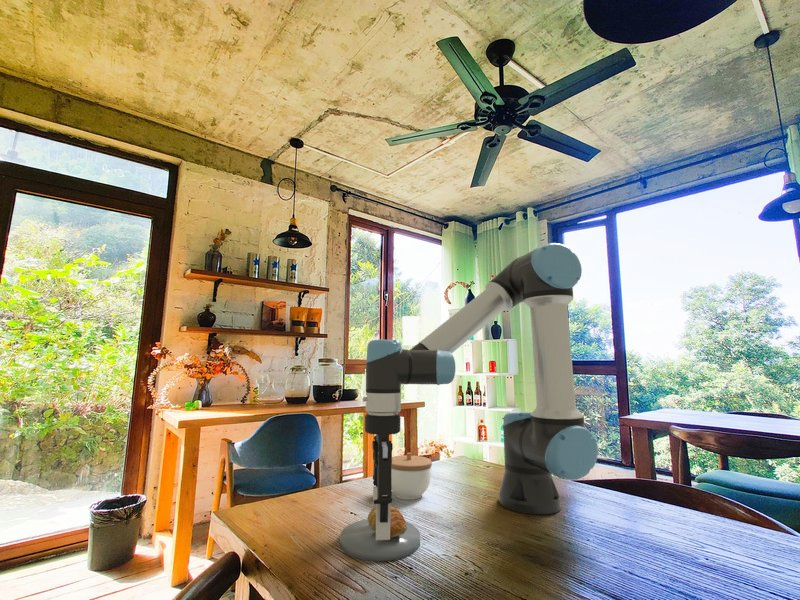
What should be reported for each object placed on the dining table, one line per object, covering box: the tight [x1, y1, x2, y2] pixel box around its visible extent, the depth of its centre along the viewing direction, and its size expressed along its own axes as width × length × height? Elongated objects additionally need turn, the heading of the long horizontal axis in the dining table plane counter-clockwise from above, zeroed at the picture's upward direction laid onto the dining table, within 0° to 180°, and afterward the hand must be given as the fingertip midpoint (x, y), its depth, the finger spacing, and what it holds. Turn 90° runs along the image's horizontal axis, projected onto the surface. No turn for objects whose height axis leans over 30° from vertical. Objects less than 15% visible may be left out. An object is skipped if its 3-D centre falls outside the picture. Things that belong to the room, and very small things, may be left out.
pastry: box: [367, 506, 407, 537], centre depth 79 cm, size 9×7×4 cm
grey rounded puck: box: [339, 518, 421, 562], centre depth 78 cm, size 16×16×2 cm
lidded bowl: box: [391, 452, 433, 501], centre depth 108 cm, size 13×13×11 cm
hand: (380, 528), depth 78 cm, fingers closed on pastry, 9 cm apart
